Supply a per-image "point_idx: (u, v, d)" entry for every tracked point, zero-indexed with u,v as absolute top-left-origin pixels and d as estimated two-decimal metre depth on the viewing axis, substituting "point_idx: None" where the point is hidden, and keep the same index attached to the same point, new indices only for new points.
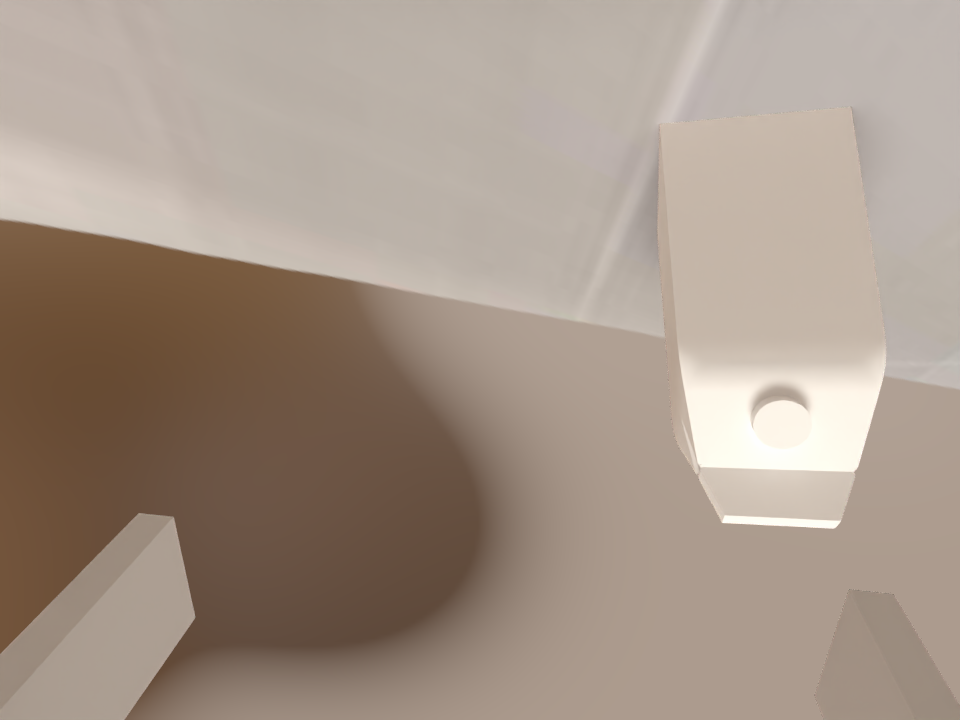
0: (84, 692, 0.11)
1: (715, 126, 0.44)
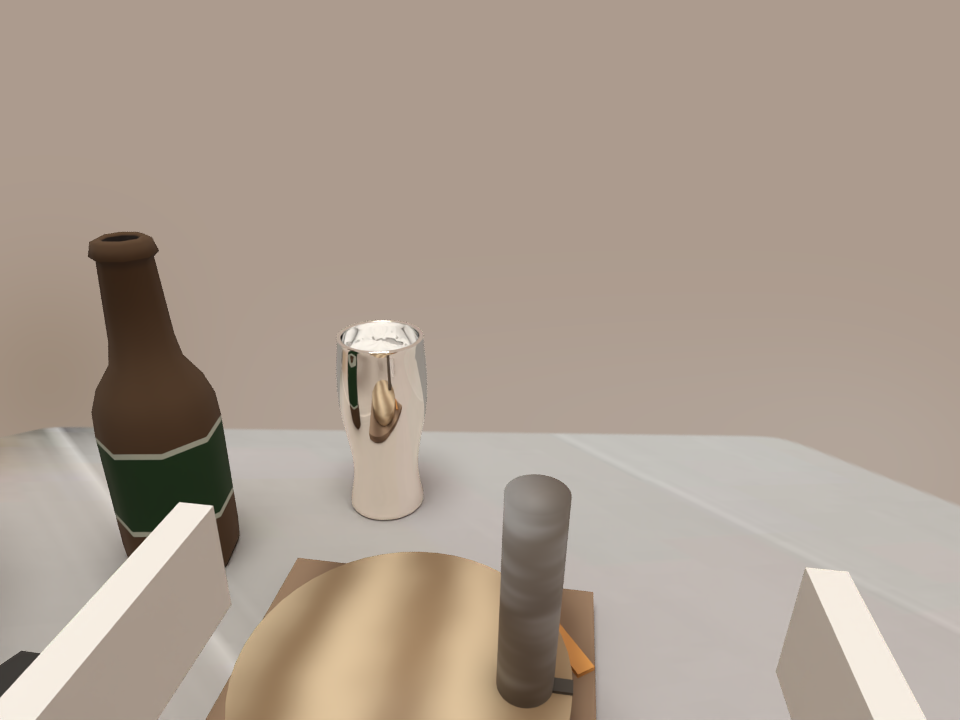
0: (134, 673, 0.11)
1: None
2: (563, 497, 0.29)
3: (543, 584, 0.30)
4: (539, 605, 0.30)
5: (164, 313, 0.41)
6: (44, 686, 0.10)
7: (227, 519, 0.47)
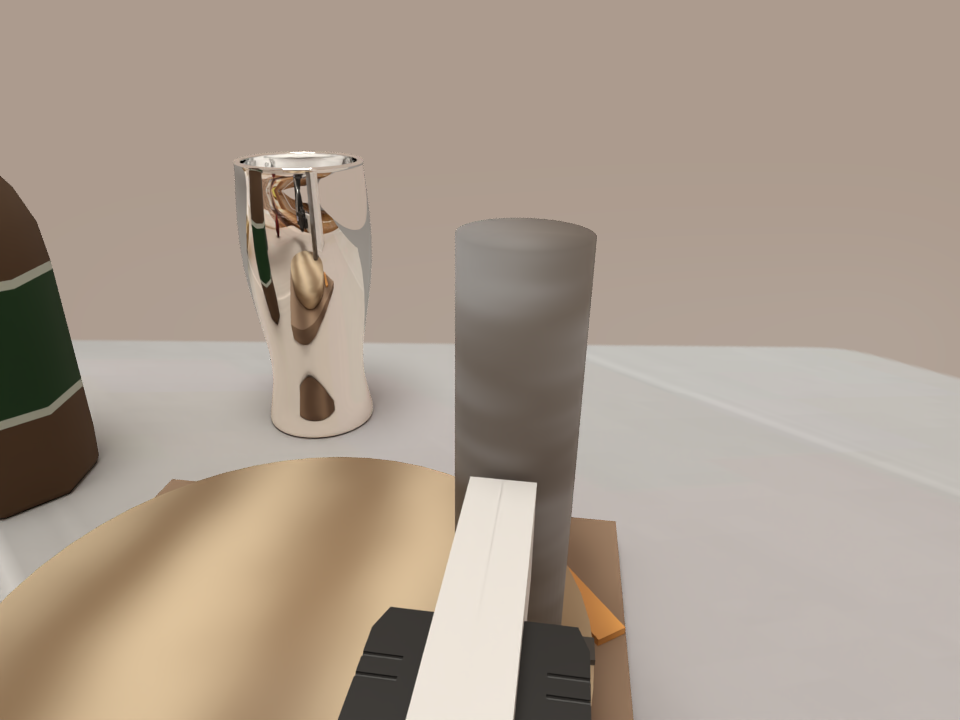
0: None
1: None
2: (580, 236, 0.14)
3: (540, 427, 0.14)
4: (531, 475, 0.15)
5: None
6: (458, 632, 0.11)
7: (67, 423, 0.32)
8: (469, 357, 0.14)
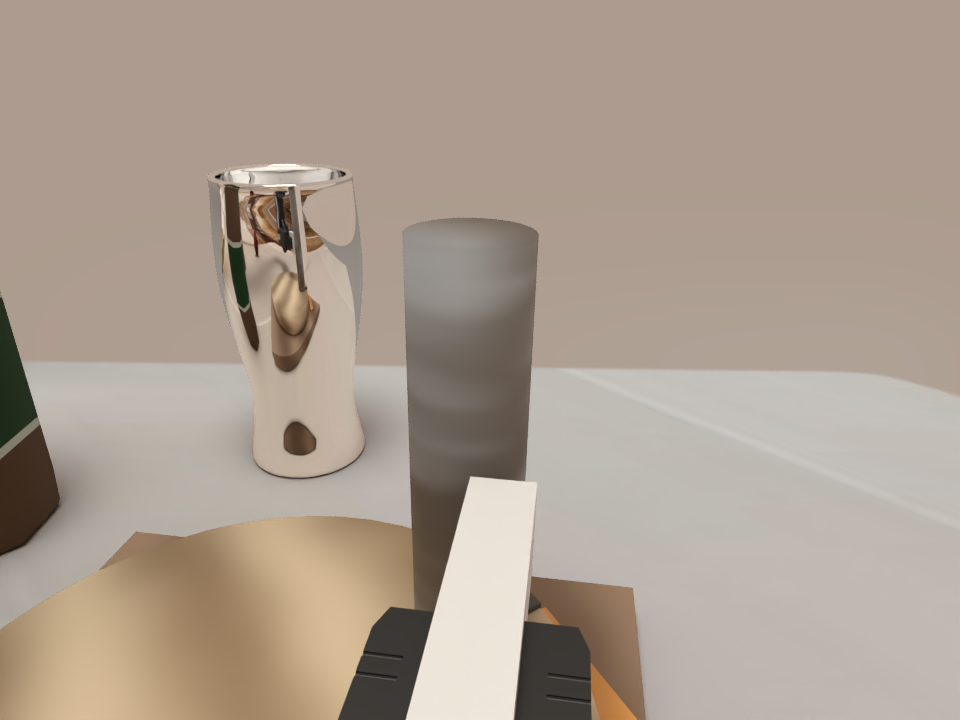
0: None
1: None
2: (514, 227, 0.15)
3: (520, 407, 0.15)
4: (515, 455, 0.16)
5: None
6: (459, 632, 0.11)
7: (19, 468, 0.28)
8: (454, 362, 0.14)
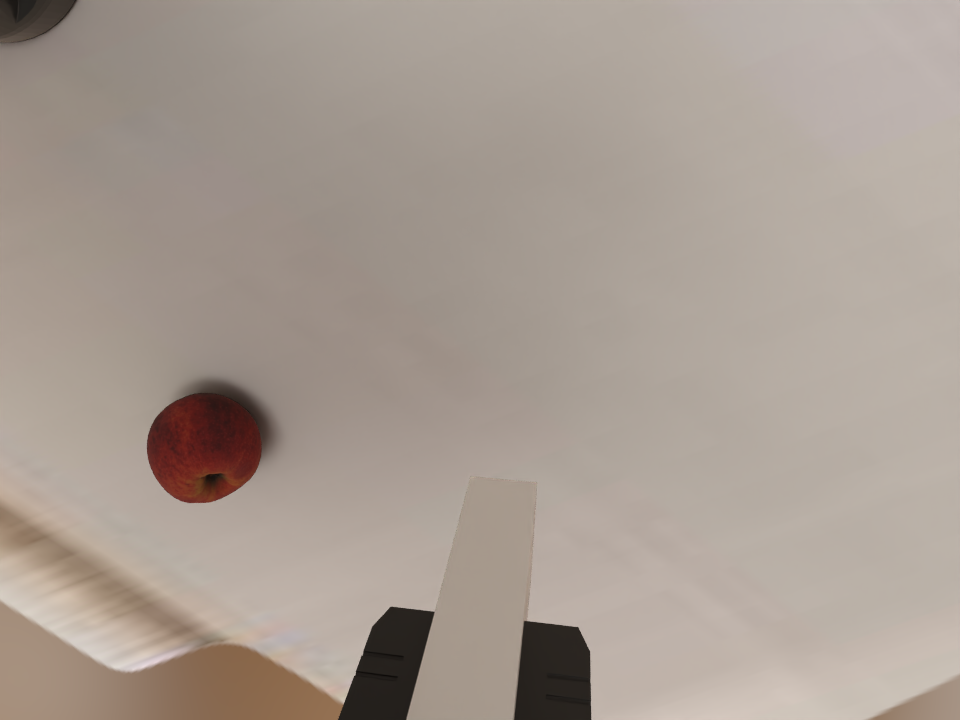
0: None
1: None
2: None
3: None
4: None
5: None
6: (459, 632, 0.11)
7: None
8: None
